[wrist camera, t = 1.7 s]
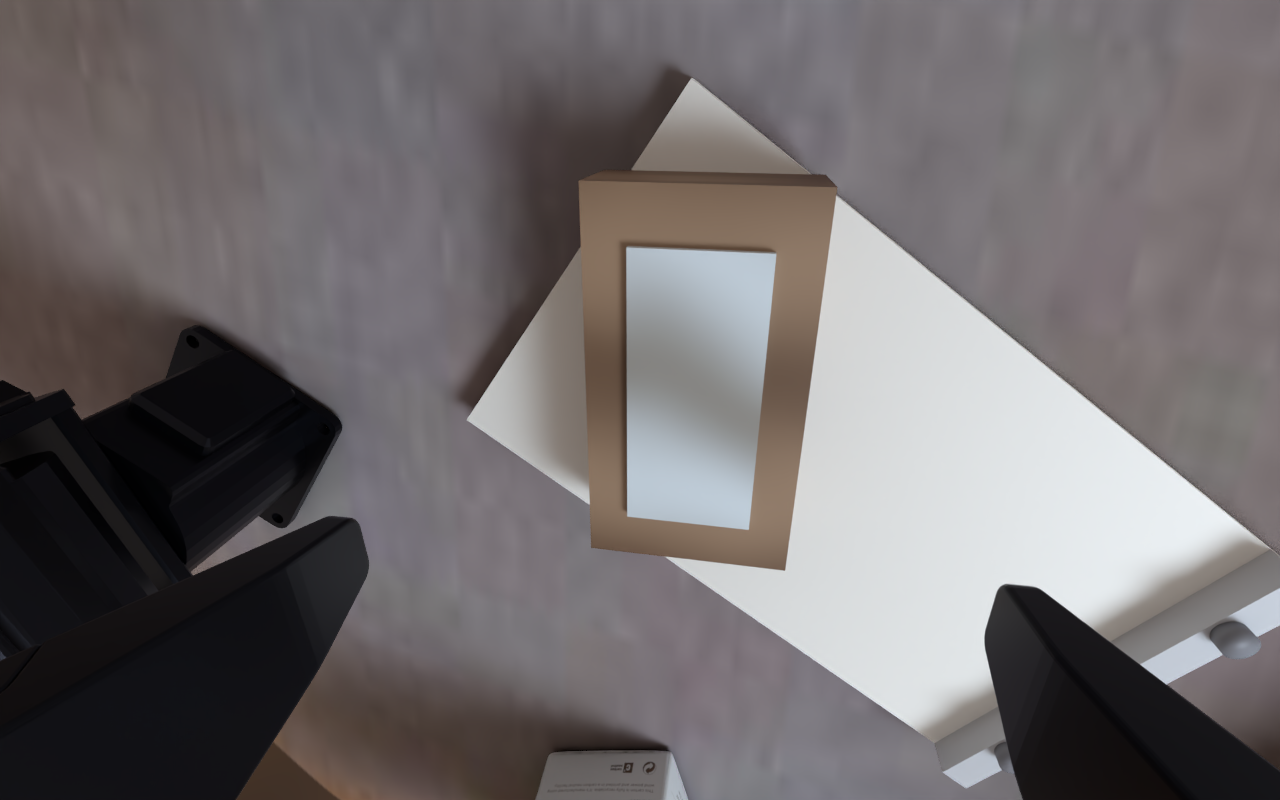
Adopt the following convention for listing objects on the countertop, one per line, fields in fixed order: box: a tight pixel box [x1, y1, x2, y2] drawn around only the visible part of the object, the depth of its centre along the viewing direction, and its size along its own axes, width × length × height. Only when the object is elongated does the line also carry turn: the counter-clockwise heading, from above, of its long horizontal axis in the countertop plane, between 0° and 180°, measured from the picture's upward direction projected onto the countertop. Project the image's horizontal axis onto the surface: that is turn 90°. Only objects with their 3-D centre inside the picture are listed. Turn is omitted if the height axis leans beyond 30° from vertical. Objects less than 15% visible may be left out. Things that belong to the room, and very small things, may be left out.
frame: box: [579, 170, 837, 571], centre depth 18 cm, size 11×6×3 cm, turn 0°
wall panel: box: [467, 78, 1280, 788], centre depth 20 cm, size 13×24×2 cm, turn 55°
